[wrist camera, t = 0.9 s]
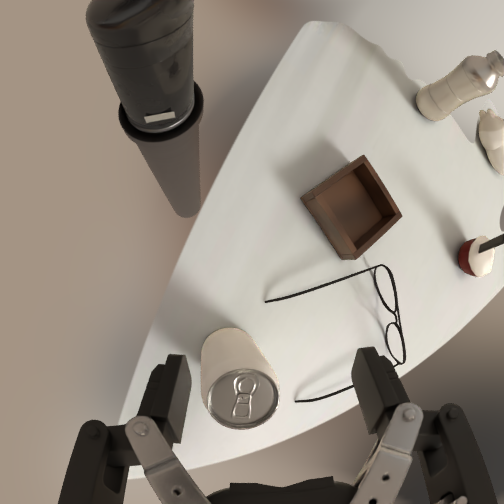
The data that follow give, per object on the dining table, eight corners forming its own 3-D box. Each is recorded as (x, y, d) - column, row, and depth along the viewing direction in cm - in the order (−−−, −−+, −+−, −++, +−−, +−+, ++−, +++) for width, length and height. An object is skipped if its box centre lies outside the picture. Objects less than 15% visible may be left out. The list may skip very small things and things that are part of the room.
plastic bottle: (405, 94, 37) (481, 38, 17) (426, 92, 38) (496, 44, 18) (422, 126, 37) (507, 79, 18) (442, 122, 38) (519, 82, 19)
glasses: (390, 356, 35) (407, 368, 30) (292, 396, 34) (300, 415, 29) (371, 261, 34) (391, 262, 29) (262, 298, 34) (267, 306, 29)
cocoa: (477, 264, 39) (528, 264, 27) (463, 288, 38) (517, 293, 26) (459, 222, 38) (513, 214, 26) (444, 244, 37) (502, 240, 25)
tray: (300, 198, 33) (310, 191, 29) (350, 162, 34) (364, 154, 31) (341, 259, 34) (356, 259, 30) (386, 219, 35) (402, 216, 31)
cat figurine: (531, 171, 32) (507, 102, 30) (510, 185, 35) (484, 113, 33) (508, 166, 41) (485, 106, 38) (488, 179, 44) (463, 116, 41)
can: (261, 330, 32) (292, 367, 20) (252, 380, 31) (276, 434, 20) (204, 322, 31) (206, 358, 19) (198, 374, 30) (197, 430, 18)
